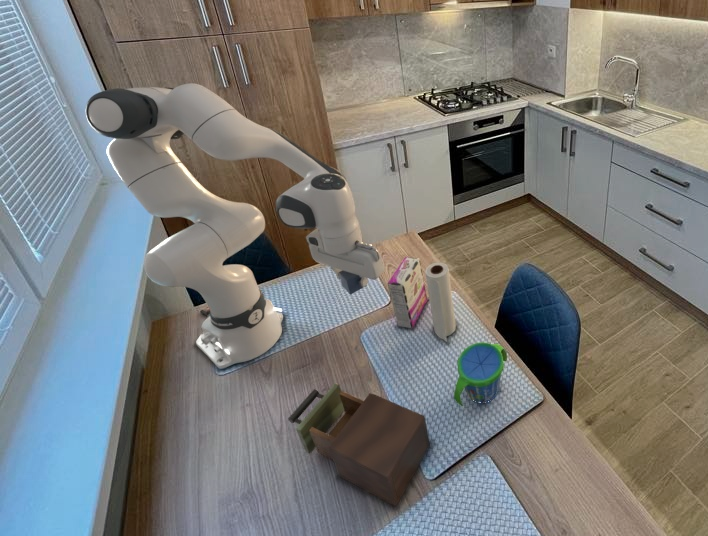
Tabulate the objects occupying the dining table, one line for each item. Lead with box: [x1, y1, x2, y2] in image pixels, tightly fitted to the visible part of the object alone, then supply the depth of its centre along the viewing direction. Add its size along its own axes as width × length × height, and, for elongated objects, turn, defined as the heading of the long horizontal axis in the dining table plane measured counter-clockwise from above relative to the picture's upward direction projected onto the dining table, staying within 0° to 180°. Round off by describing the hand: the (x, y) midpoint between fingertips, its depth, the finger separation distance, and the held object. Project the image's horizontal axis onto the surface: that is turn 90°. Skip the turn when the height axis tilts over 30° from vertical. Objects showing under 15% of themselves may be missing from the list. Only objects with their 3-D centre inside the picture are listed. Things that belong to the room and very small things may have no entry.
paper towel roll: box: [424, 261, 457, 343], centre depth 108 cm, size 7×6×21 cm
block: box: [339, 270, 368, 296], centre depth 103 cm, size 5×5×5 cm
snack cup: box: [453, 342, 508, 407], centre depth 94 cm, size 16×10×10 cm
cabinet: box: [329, 392, 431, 508], centre depth 81 cm, size 14×12×10 cm
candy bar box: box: [387, 256, 428, 329], centre depth 115 cm, size 11×5×16 cm, turn 168°
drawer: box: [287, 382, 364, 461], centre depth 86 cm, size 18×11×8 cm, turn 68°
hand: (352, 281), depth 104 cm, fingers closed on block, 5 cm apart
